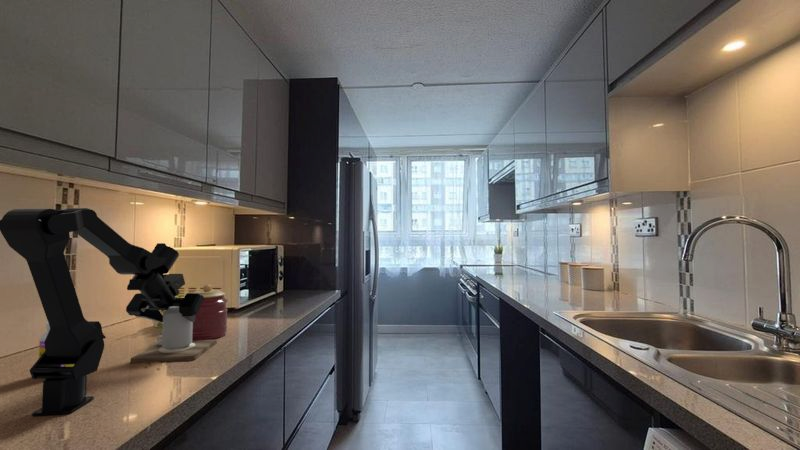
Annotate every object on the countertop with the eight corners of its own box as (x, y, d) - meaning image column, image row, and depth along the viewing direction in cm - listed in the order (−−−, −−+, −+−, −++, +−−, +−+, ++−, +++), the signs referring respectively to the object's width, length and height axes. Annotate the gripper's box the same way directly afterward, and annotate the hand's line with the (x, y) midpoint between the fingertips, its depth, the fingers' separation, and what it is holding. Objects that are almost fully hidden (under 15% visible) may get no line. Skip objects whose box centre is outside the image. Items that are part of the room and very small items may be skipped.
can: (185, 349, 99) (186, 307, 100) (156, 351, 98) (157, 308, 99) (196, 342, 107) (197, 302, 107) (169, 343, 106) (170, 303, 106)
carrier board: (194, 359, 96) (194, 349, 96) (130, 362, 93) (130, 352, 94) (217, 342, 112) (217, 334, 112) (163, 345, 110) (163, 336, 110)
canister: (200, 343, 112) (201, 287, 113) (175, 338, 117) (176, 285, 118) (235, 333, 123) (236, 283, 124) (210, 329, 129) (212, 281, 130)
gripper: (201, 264, 99) (220, 298, 109) (135, 264, 99) (160, 298, 109) (183, 296, 90) (205, 329, 101) (111, 297, 90) (141, 330, 101)
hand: (178, 320), depth 103 cm, fingers open, 9 cm apart
